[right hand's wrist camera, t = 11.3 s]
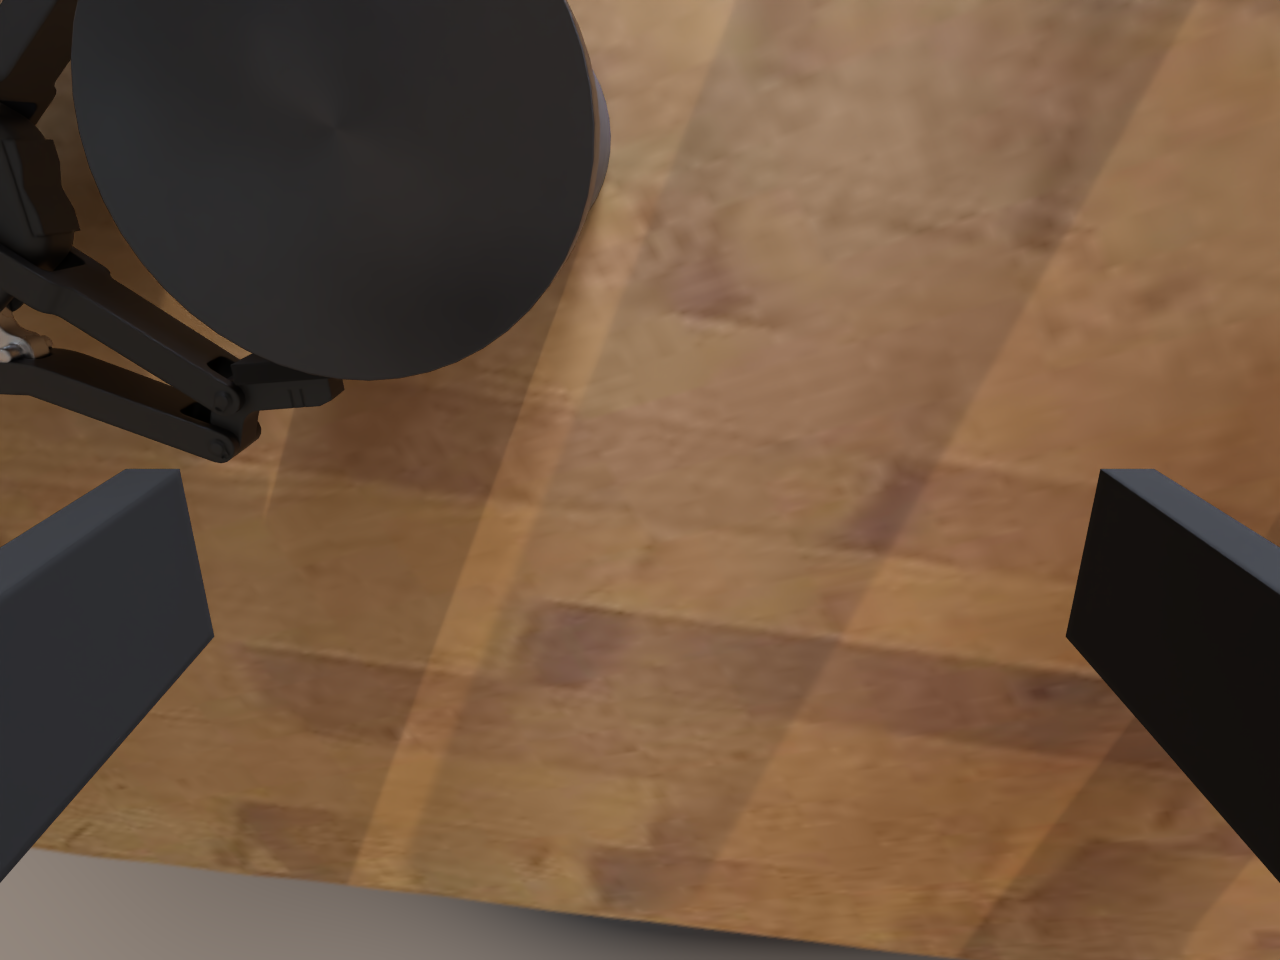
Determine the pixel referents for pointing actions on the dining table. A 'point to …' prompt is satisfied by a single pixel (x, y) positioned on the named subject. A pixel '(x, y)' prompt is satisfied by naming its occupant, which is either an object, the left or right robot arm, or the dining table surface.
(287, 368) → the left robot arm
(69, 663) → the right robot arm
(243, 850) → the dining table surface
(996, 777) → the dining table surface
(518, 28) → the lid
